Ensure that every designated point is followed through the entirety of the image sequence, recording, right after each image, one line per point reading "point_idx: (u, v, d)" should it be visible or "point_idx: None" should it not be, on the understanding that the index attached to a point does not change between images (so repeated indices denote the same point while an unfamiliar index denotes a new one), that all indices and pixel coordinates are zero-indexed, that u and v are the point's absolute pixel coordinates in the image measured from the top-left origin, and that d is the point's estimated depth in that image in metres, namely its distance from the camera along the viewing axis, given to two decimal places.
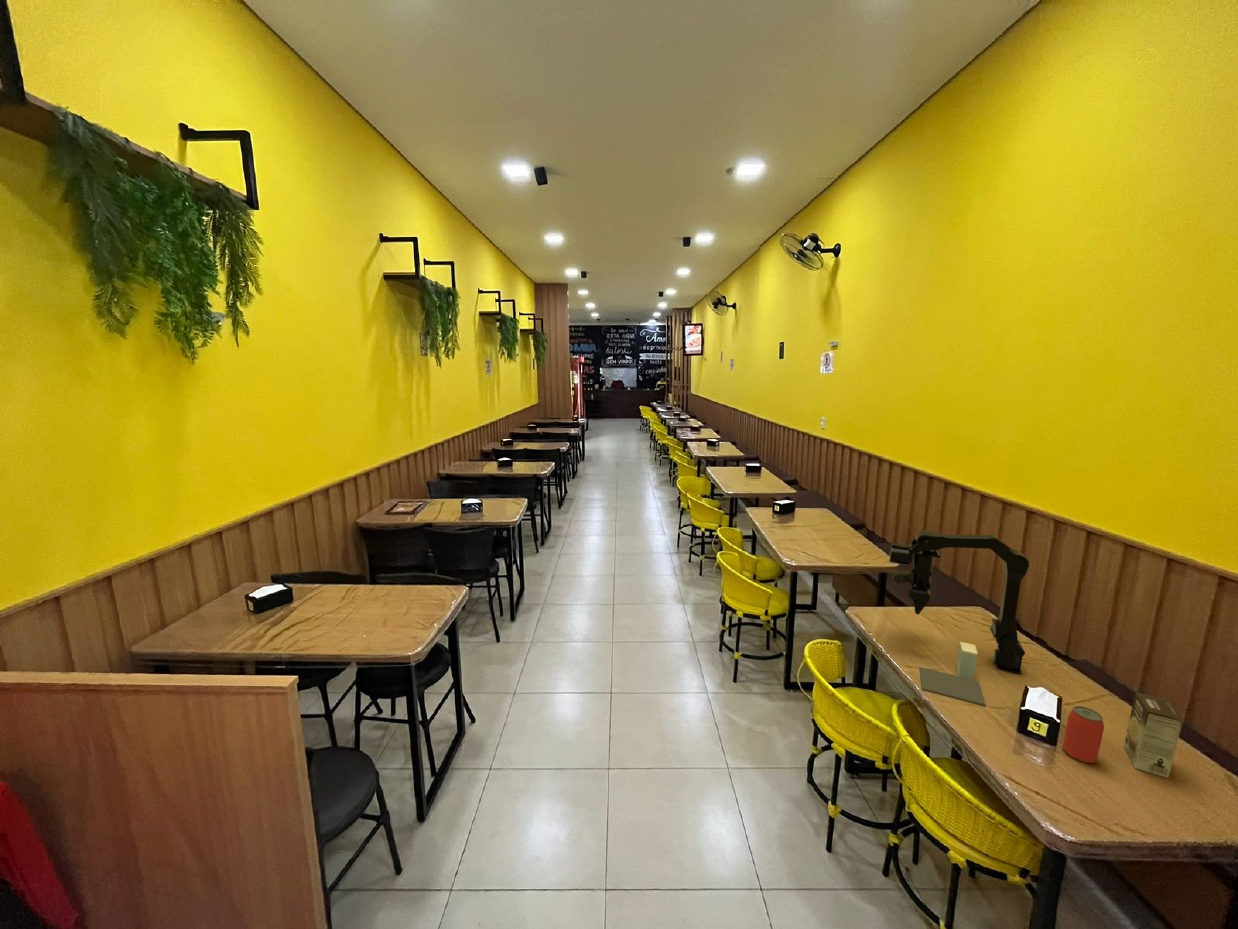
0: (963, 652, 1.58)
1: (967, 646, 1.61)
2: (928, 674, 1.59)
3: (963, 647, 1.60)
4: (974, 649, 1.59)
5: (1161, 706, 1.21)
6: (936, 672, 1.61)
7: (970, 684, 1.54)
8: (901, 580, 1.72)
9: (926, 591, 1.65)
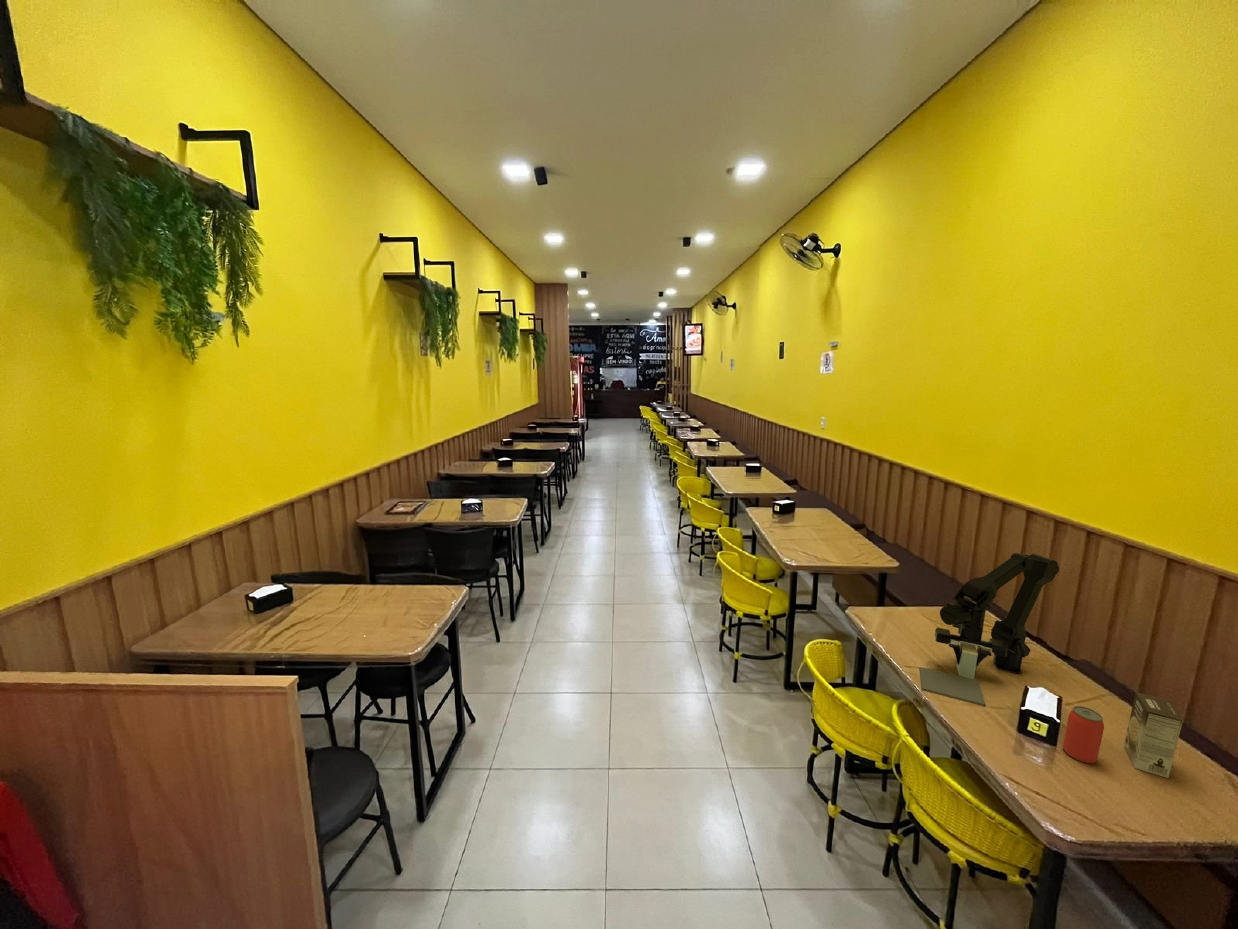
0: (963, 652, 1.58)
1: (967, 646, 1.61)
2: (928, 674, 1.59)
3: (963, 647, 1.60)
4: (974, 649, 1.59)
5: (1161, 706, 1.21)
6: (936, 672, 1.61)
7: (970, 684, 1.54)
8: None
9: (941, 633, 1.62)
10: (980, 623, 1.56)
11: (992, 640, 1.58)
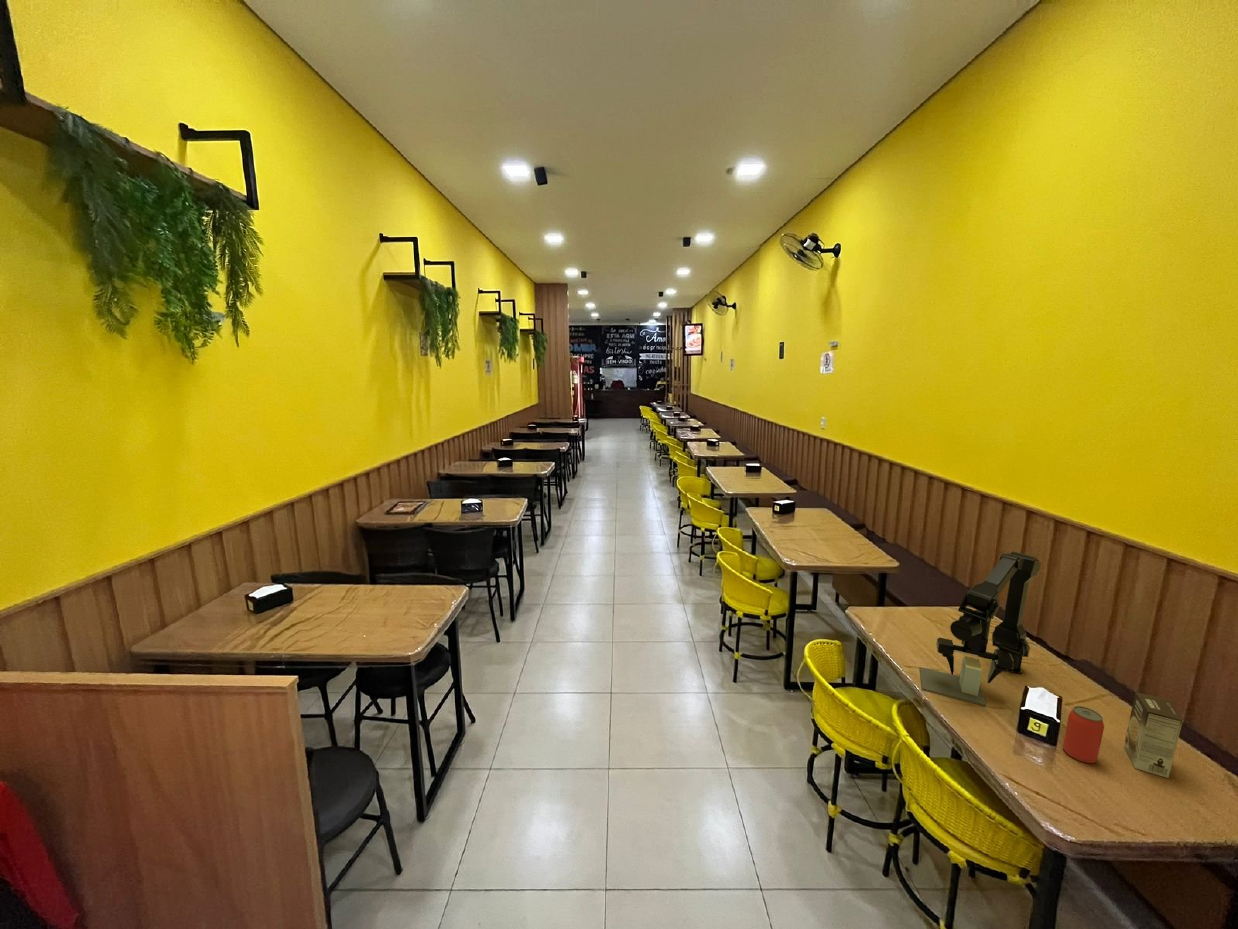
0: (966, 667, 1.49)
1: (970, 661, 1.51)
2: (928, 674, 1.59)
3: (966, 662, 1.51)
4: (978, 664, 1.50)
5: (1161, 706, 1.21)
6: (936, 672, 1.61)
7: None
8: None
9: (943, 644, 1.52)
10: (987, 633, 1.46)
11: (998, 651, 1.48)
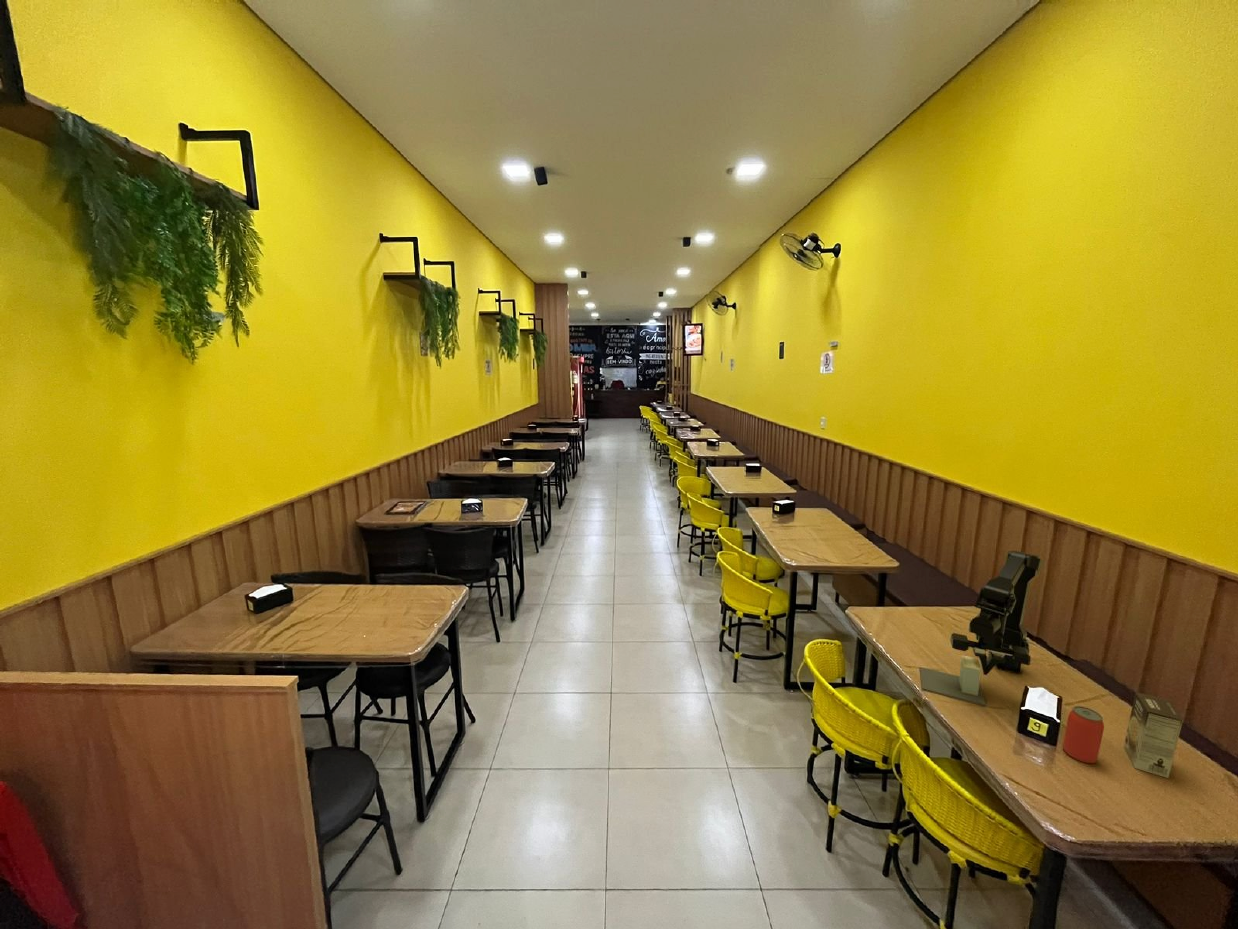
0: (965, 667, 1.49)
1: (969, 660, 1.51)
2: (928, 674, 1.59)
3: (965, 661, 1.51)
4: (977, 663, 1.50)
5: (1161, 706, 1.21)
6: (936, 672, 1.61)
7: None
8: (969, 629, 1.55)
9: (958, 639, 1.50)
10: (1003, 628, 1.44)
11: (1013, 647, 1.46)
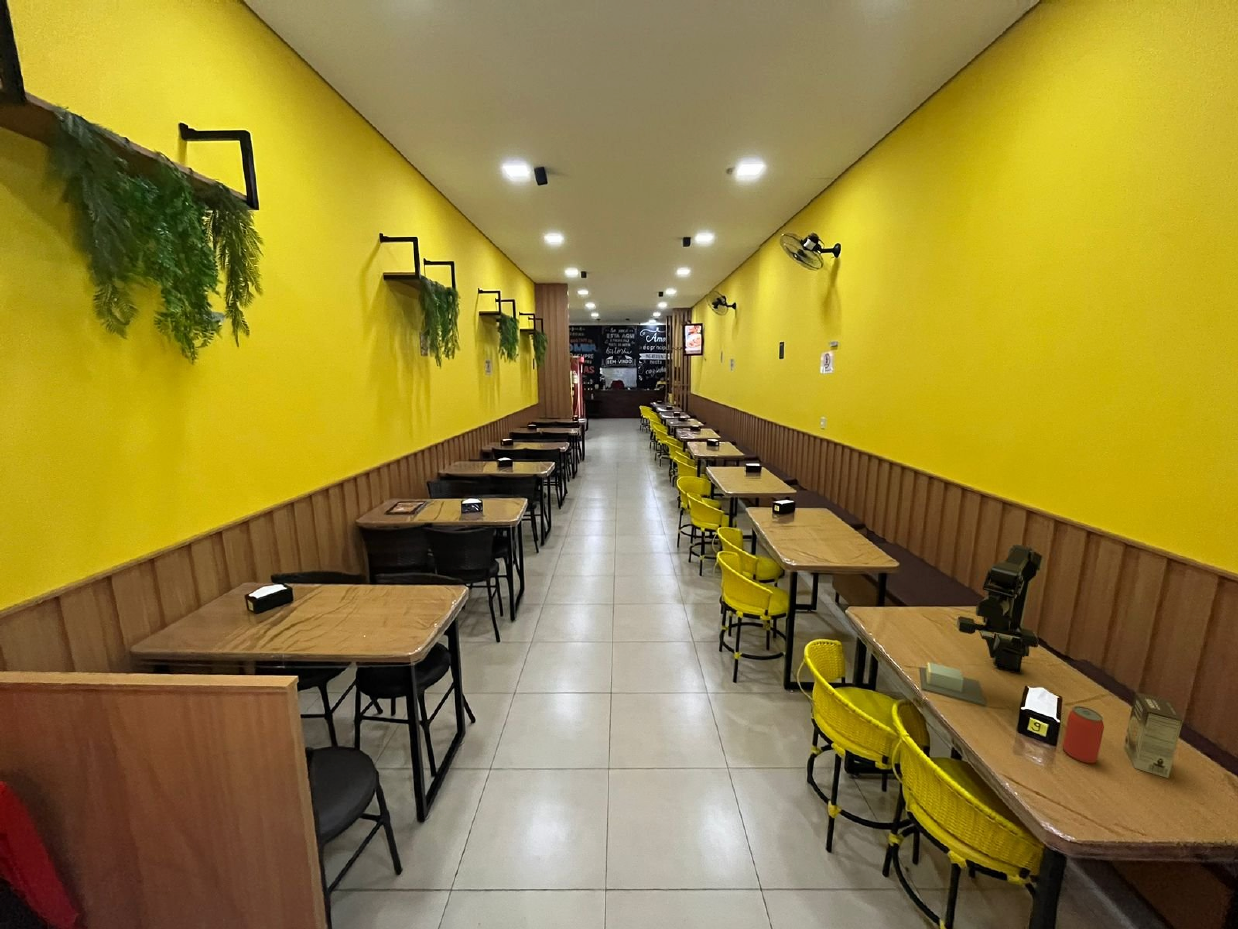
0: (929, 683, 1.54)
1: (927, 673, 1.57)
2: None
3: None
4: (927, 669, 1.56)
5: (1161, 706, 1.21)
6: None
7: (970, 684, 1.54)
8: (976, 612, 1.53)
9: (965, 622, 1.48)
10: (1011, 610, 1.43)
11: (1021, 629, 1.44)
